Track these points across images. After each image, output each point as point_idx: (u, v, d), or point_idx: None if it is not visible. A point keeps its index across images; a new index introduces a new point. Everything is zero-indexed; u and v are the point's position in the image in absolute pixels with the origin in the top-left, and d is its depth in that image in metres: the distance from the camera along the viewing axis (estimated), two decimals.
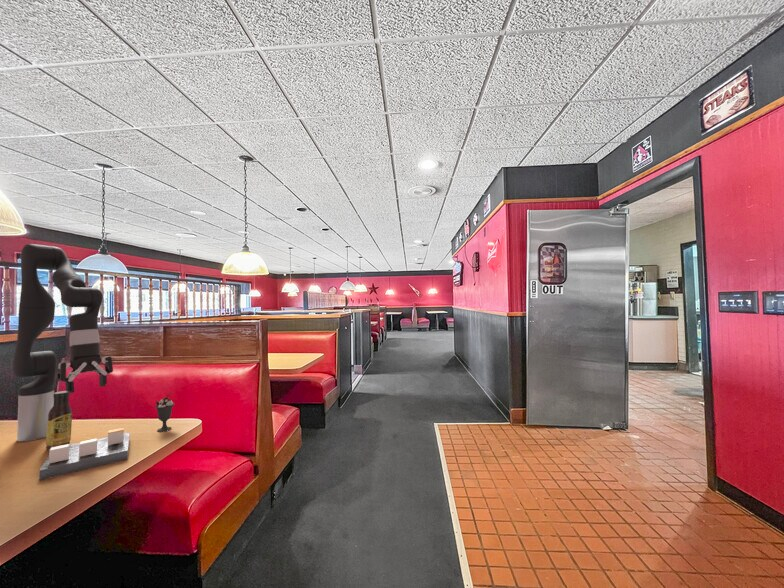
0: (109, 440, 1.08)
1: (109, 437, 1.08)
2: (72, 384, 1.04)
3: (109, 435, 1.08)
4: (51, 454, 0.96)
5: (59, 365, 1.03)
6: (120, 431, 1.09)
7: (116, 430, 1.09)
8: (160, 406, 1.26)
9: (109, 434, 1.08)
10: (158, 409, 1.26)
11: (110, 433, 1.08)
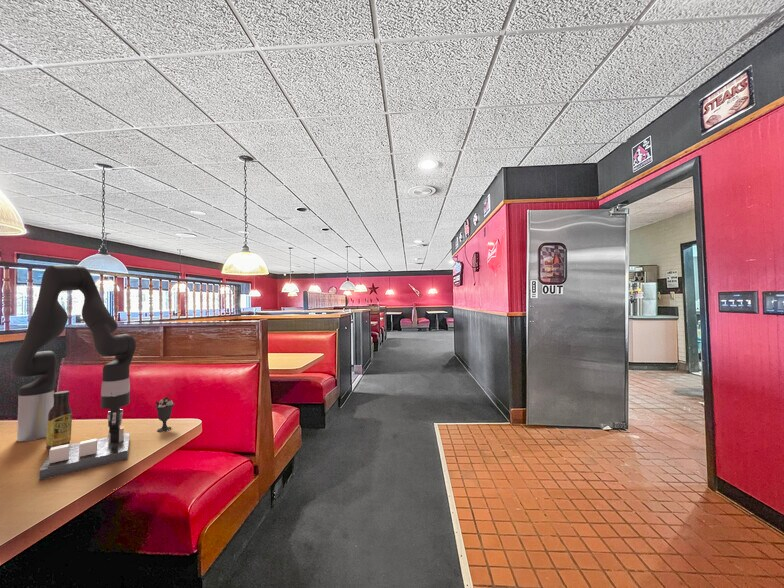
0: None
1: (109, 436, 1.09)
2: (118, 433, 1.08)
3: (109, 434, 1.09)
4: (51, 454, 0.96)
5: (113, 423, 1.03)
6: (120, 430, 1.11)
7: None
8: (160, 406, 1.26)
9: (109, 433, 1.09)
10: (158, 409, 1.26)
11: None
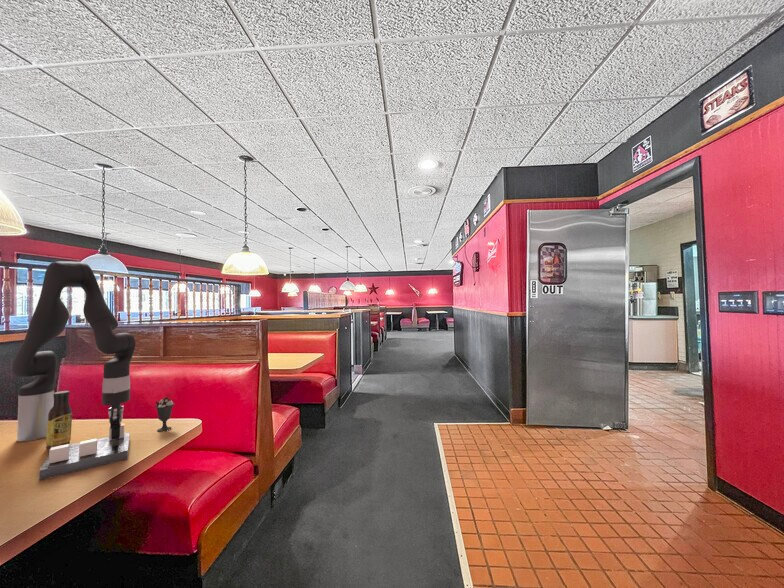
0: None
1: (110, 432, 1.12)
2: (119, 429, 1.11)
3: (110, 430, 1.12)
4: (51, 454, 0.96)
5: (114, 419, 1.06)
6: (121, 426, 1.13)
7: None
8: (160, 406, 1.26)
9: (110, 429, 1.12)
10: (158, 409, 1.26)
11: None
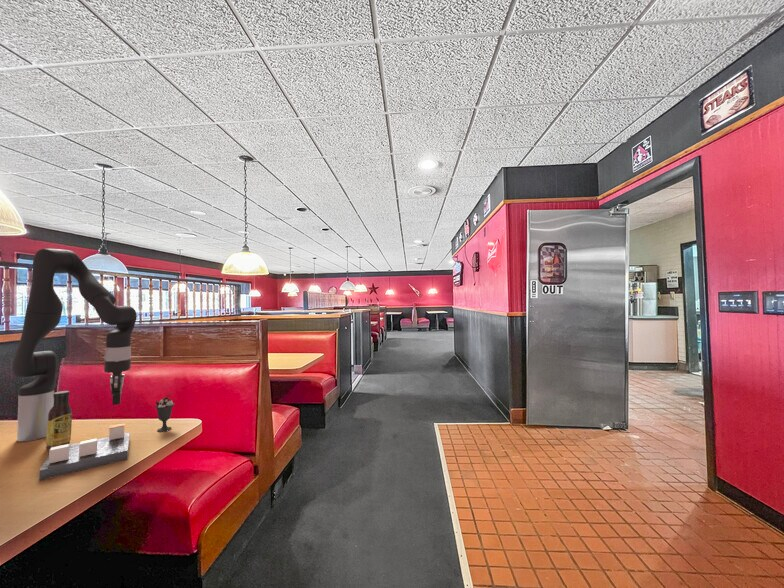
0: (111, 435, 1.12)
1: (110, 432, 1.12)
2: (120, 396, 1.18)
3: (110, 430, 1.12)
4: (51, 454, 0.96)
5: (115, 385, 1.13)
6: (121, 426, 1.13)
7: (117, 425, 1.13)
8: (160, 406, 1.26)
9: (110, 429, 1.12)
10: (158, 409, 1.26)
11: (111, 428, 1.12)
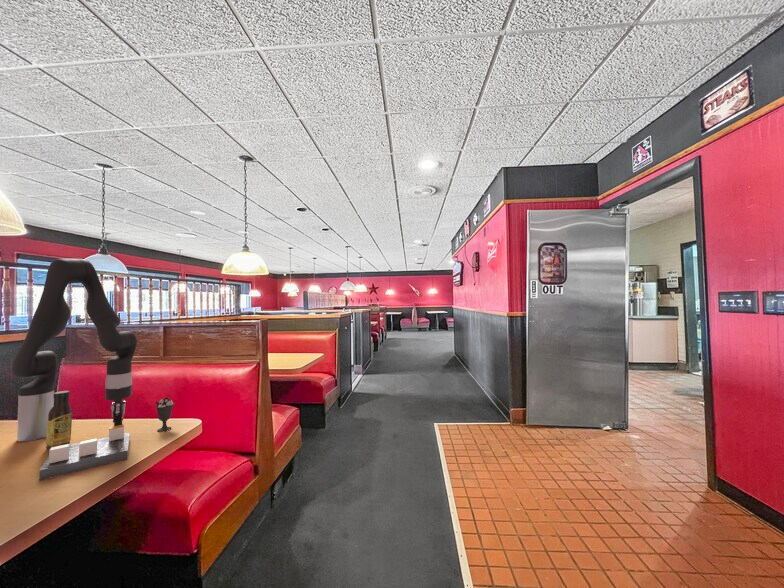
0: (110, 436, 1.11)
1: (110, 433, 1.11)
2: None
3: (110, 431, 1.11)
4: (51, 454, 0.96)
5: (117, 413, 1.11)
6: (121, 427, 1.13)
7: (117, 426, 1.12)
8: (160, 406, 1.26)
9: (110, 430, 1.11)
10: (158, 409, 1.26)
11: (111, 429, 1.11)
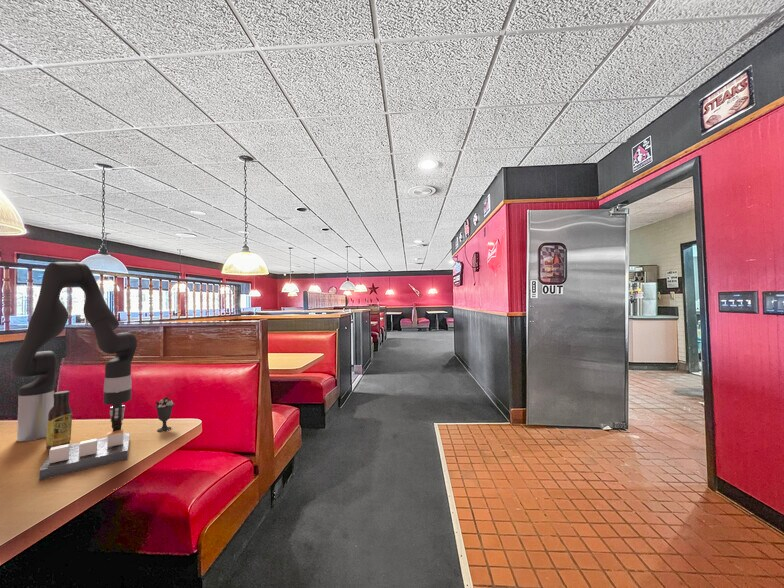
0: (109, 442, 1.06)
1: (109, 439, 1.06)
2: None
3: (109, 437, 1.06)
4: (51, 454, 0.96)
5: (116, 418, 1.07)
6: (120, 433, 1.08)
7: (116, 432, 1.08)
8: (160, 406, 1.26)
9: (109, 436, 1.06)
10: (158, 409, 1.26)
11: (110, 435, 1.06)
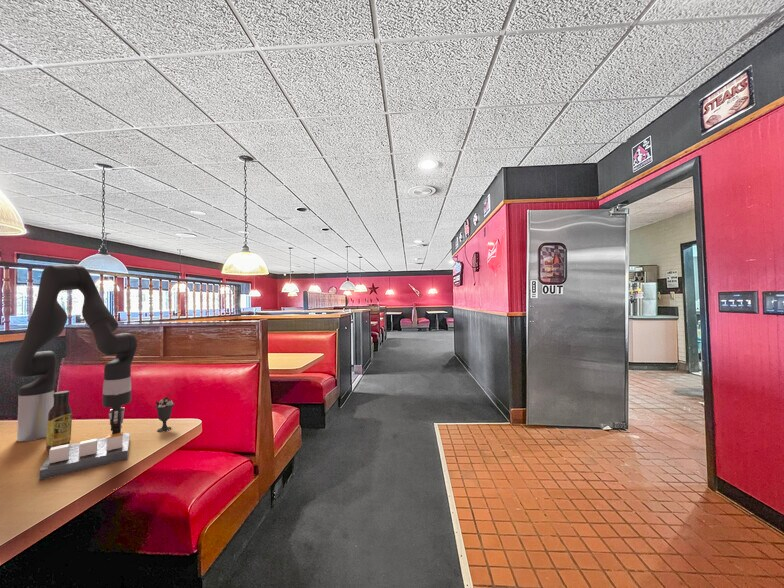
0: (108, 446, 1.04)
1: (108, 442, 1.04)
2: (120, 431, 1.09)
3: (108, 440, 1.04)
4: (51, 454, 0.96)
5: (115, 421, 1.04)
6: (119, 436, 1.05)
7: (115, 435, 1.05)
8: (160, 406, 1.26)
9: (108, 439, 1.04)
10: (158, 409, 1.26)
11: (109, 438, 1.04)
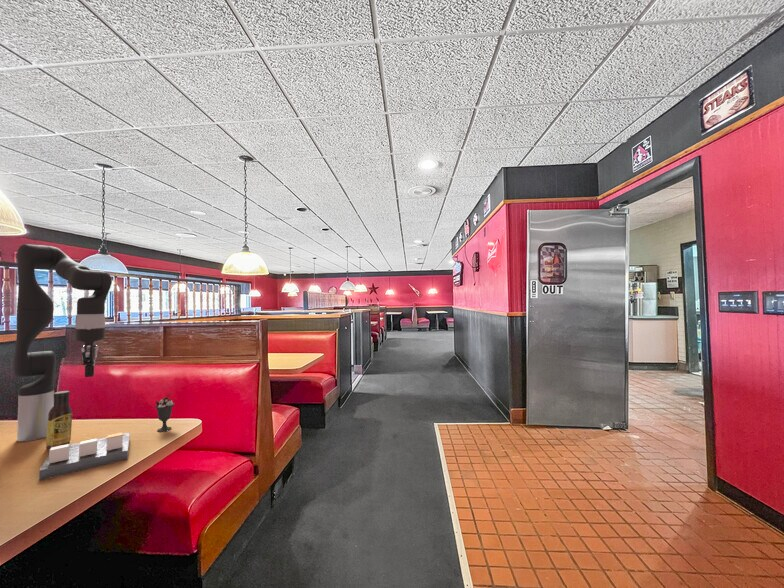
0: (108, 446, 1.04)
1: (108, 442, 1.04)
2: (93, 368, 1.09)
3: (108, 440, 1.04)
4: (51, 454, 0.96)
5: (87, 355, 1.04)
6: (119, 436, 1.05)
7: (115, 435, 1.05)
8: (160, 406, 1.26)
9: (108, 439, 1.04)
10: (158, 409, 1.26)
11: (109, 438, 1.04)
